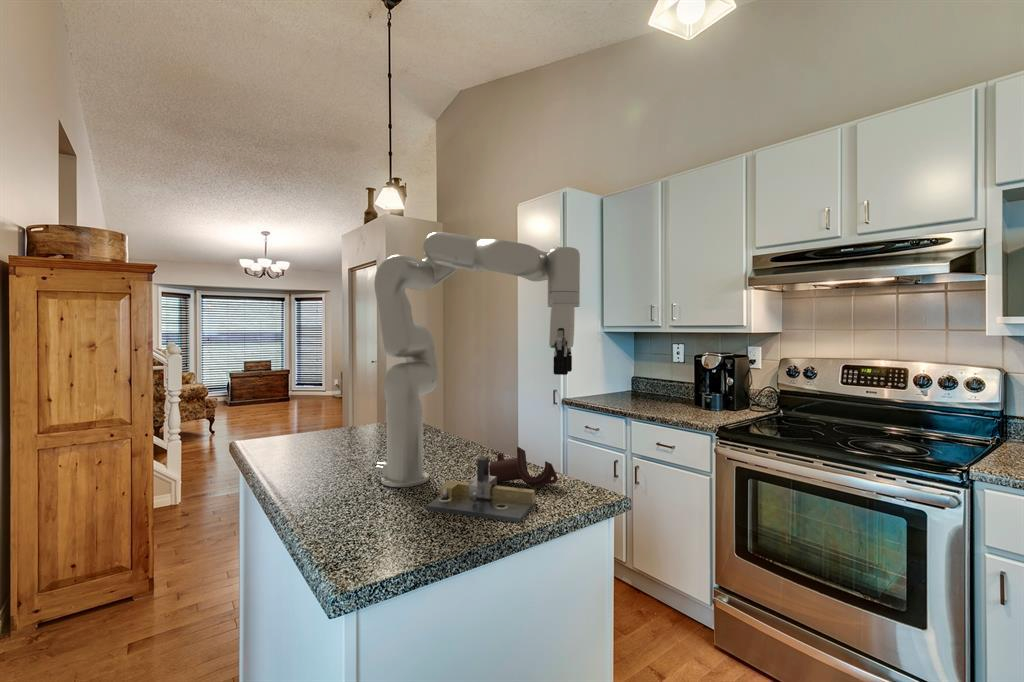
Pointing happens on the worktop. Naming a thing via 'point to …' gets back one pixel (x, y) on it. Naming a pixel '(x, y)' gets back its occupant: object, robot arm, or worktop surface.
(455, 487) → the beam
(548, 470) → the bracket
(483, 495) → the slider
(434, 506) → the hole plate
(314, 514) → the worktop surface
